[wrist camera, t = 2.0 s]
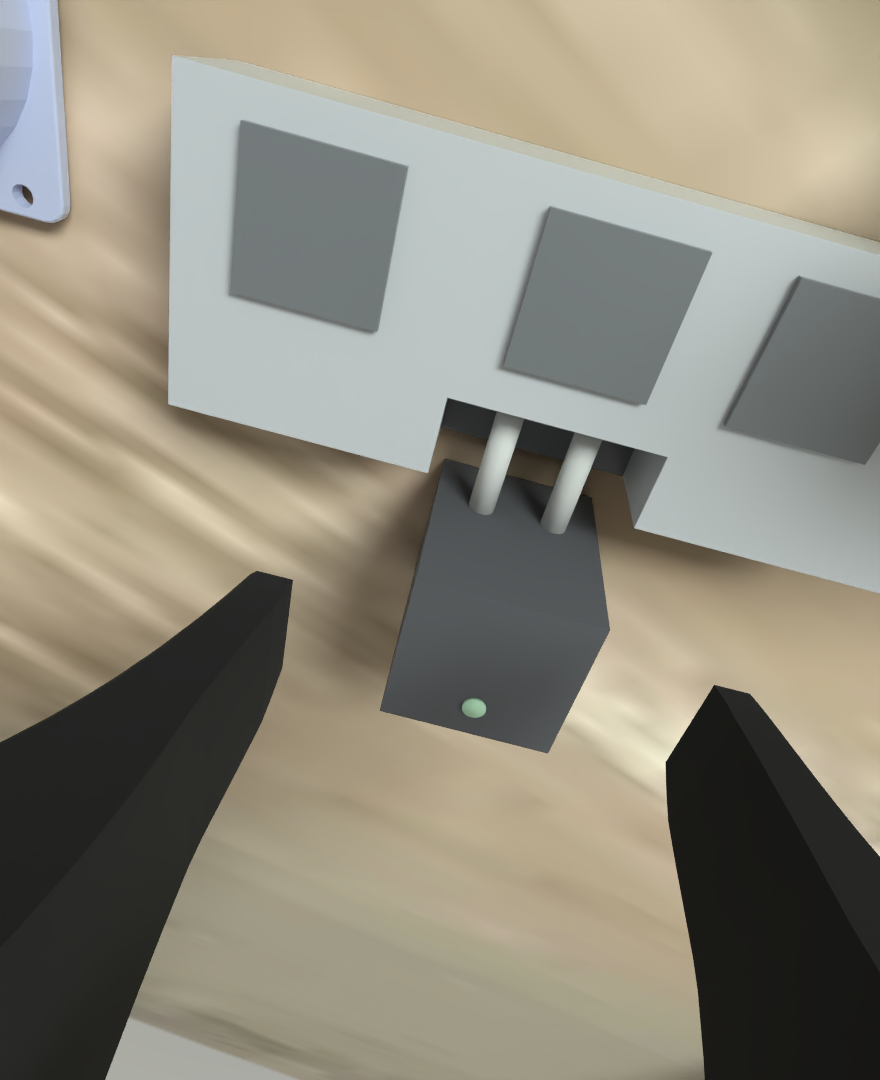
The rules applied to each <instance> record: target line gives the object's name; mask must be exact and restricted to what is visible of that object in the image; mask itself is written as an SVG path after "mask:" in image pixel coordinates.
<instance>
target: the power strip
mask: <svg viewBox="0 0 880 1080" xmlns="http://www.w3.org/2000/svg"><path fill="white" fill-rule="evenodd" d="M168 404H169V405H173V406H177V407H180V408H184V409H188V410H192V411H195V412H199V413H203V414H207V415H210V416H214V417H218V418H222V419H225V420H229V421H233V422H237V423H241V424H244V425H248V426H252V427H256V428H259V429H263V430H267V431H271V432H274V433H278V434H282V435H286V436H289V437H293V438H297V439H301V440H304V441H308V442H312V443H316V444H319V445H323V446H327V447H331V448H334V449H338V450H342V451H346V452H350V453H353V454H357V455H361V456H365V457H368V458H372V459H376V460H380V461H383V462H387V463H391V464H395V465H398V466H402V467H406V468H410V469H413V470H417V471H421V472H425V473H428V471H429V467H430V464H431V460H432V456H433V453H434V449H435V446H436V442H437V439H438V435H439V431H440V428H445V429H448V430H452V431H456V432H459V433H463V434H467V435H471V436H474V437H478V438H482V439H486V440H488V439H489V435H490V432H491V429H492V425H493V422H494V419H495V416H496V412H497V411H499V412H502V413H506V414H510V415H513V416H517V417H521V418H524V421H523V424H522V427H521V430H520V433H519V436H518V439H517V442H516V445H515V448H519V449H523V450H526V451H530V452H534V453H538V454H541V455H545V456H549V457H553V458H556V459H560V460H564V459H565V456H566V454H567V451H568V449H569V446H570V443H571V441H572V438H573V435H574V433H575V432H576V433H580V434H584V435H587V436H591V437H595V438H599V439H602V442H601V445H600V447H599V450H598V452H597V454H596V457H595V459H594V462H593V464H592V467H591V468H594V469H597V470H601V471H605V472H608V473H612V474H616V475H620V476H623V481H624V485H625V490H626V494H627V499H628V503H629V508H630V512H631V517H632V521H633V526H634V528H635V529H639V530H643V531H646V532H650V533H654V534H658V535H662V536H665V537H669V538H673V539H677V540H680V541H684V542H688V543H692V544H695V545H699V546H703V547H707V548H710V549H714V550H718V551H722V552H725V553H729V554H733V555H737V556H740V557H744V558H748V559H752V560H755V561H759V562H763V563H767V564H771V565H774V566H778V567H782V568H786V569H789V570H793V571H797V572H801V573H804V574H808V575H812V576H816V577H819V578H823V579H827V580H831V581H834V582H838V583H842V584H846V585H849V586H853V587H857V588H861V589H864V590H868V591H872V592H876V593H880V242H877V241H874V240H870V239H867V238H863V237H860V236H856V235H852V234H849V233H845V232H842V231H838V230H835V229H831V228H828V227H824V226H821V225H817V224H814V223H810V222H807V221H803V220H800V219H796V218H793V217H789V216H786V215H782V214H778V213H775V212H771V211H768V210H764V209H761V208H757V207H754V206H750V205H747V204H743V203H740V202H736V201H733V200H729V199H726V198H722V197H719V196H715V195H712V194H708V193H704V192H701V191H697V190H694V189H690V188H687V187H683V186H680V185H676V184H673V183H669V182H666V181H662V180H659V179H655V178H652V177H648V176H645V175H641V174H637V173H634V172H630V171H627V170H623V169H620V168H616V167H613V166H609V165H606V164H602V163H599V162H595V161H592V160H588V159H585V158H581V157H578V156H574V155H571V154H567V153H563V152H560V151H556V150H553V149H549V148H546V147H542V146H539V145H535V144H532V143H528V142H525V141H521V140H518V139H514V138H511V137H507V136H504V135H500V134H497V133H493V132H489V131H486V130H482V129H479V128H475V127H472V126H468V125H465V124H461V123H458V122H454V121H451V120H447V119H444V118H440V117H437V116H433V115H430V114H426V113H423V112H419V111H415V110H412V109H408V108H405V107H401V106H398V105H394V104H391V103H387V102H384V101H380V100H377V99H373V98H370V97H366V96H363V95H359V94H356V93H352V92H348V91H345V90H341V89H338V88H334V87H331V86H327V85H324V84H320V83H317V82H313V81H310V80H306V79H303V78H299V77H296V76H292V75H289V74H285V73H282V72H278V71H274V70H271V69H267V68H264V67H260V66H257V65H253V64H250V63H246V62H243V61H237V60H225V59H213V58H202V57H190V56H178V55H172V96H171V186H170V277H169V368H168Z"/></svg>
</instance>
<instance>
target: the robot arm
mask: <svg viewBox="0 0 880 1080" xmlns="http://www.w3.org/2000/svg"><path fill="white" fill-rule="evenodd" d="M23 185H24V186H26V187H27V188H28V189H29V190H30V191H31V193H32V196H33V204H30V203H28V202H27V200H26V199H25V198H24V196H23V193H22V187H23ZM0 210H2V211H5V212H9V213H13V214H16V215H20V216H24V217H27V218H31V219H35V220H38V221H42V222H46V223H55V222H58V221H61V220H63V219H65V218H66V217H67V216H68V214H69V213H70V189H69V174H68V158H67V142H66V127H65V111H64V96H63V80H62V64H61V49H60V33H59V18H58V2H57V0H0ZM292 583H293V580H291V579H287V578H283V577H279V576H275V575H271V574H267V573H263V572H259V571H256V572H254V573H252V574H250V575H249V576H248V577H247V578H246V579H244V580H243V581H242V582H241V583H240V584H239V585H238V586H236V587H235V588H234V589H233V590H232V591H231V592H229V593H228V594H227V595H226V596H225V597H224V598H222V599H221V600H220V601H219V602H217V603H216V604H215V605H214V606H213V607H211V608H210V609H209V610H208V611H206V612H205V613H204V614H203V615H201V616H200V617H199V618H198V619H196V620H195V621H194V622H192V623H191V624H190V625H188V626H187V627H186V628H185V629H183V630H182V631H181V632H179V633H178V634H177V635H175V636H174V637H173V638H171V639H170V640H169V641H167V642H166V643H165V644H163V645H162V646H161V647H159V648H158V649H156V650H155V651H154V652H152V653H151V654H149V655H148V656H146V657H145V658H143V659H142V660H140V661H139V662H137V663H136V664H134V665H133V666H131V667H130V668H129V669H127V670H126V671H124V672H123V673H121V674H120V675H118V676H117V677H115V678H114V679H112V680H111V681H109V682H107V683H106V684H104V685H103V686H101V687H99V688H98V689H96V690H95V691H93V692H91V693H90V694H88V695H86V696H85V697H83V698H81V699H80V700H78V701H76V702H75V703H73V704H71V705H69V706H68V707H66V708H64V709H62V710H61V711H59V712H57V713H55V714H54V715H52V716H50V717H48V718H46V719H45V720H43V721H41V722H39V723H37V724H35V725H33V726H31V727H29V728H27V729H25V730H23V731H21V732H20V733H18V734H16V735H14V736H12V737H10V738H8V739H6V740H4V741H2V742H0V1080H105V1079H106V1076H107V1073H108V1070H109V1068H110V1065H111V1062H112V1060H113V1057H114V1054H115V1052H116V1049H117V1047H118V1044H119V1041H120V1039H121V1036H122V1033H123V1031H124V1028H125V1026H126V1023H127V1020H128V1018H129V1015H130V1012H131V1010H132V1007H133V1004H134V1002H135V999H136V997H137V994H138V991H139V989H140V986H141V984H142V981H143V979H144V976H145V974H146V971H147V969H148V966H149V963H150V961H151V958H152V956H153V953H154V951H155V948H156V946H157V943H158V941H159V938H160V935H161V933H162V930H163V928H164V925H165V923H166V920H167V918H168V915H169V913H170V911H171V908H172V906H173V903H174V901H175V898H176V896H177V893H178V891H179V888H180V886H181V883H182V881H183V879H184V876H185V874H186V871H187V869H188V866H189V864H190V862H191V860H192V858H193V856H194V854H195V851H196V849H197V847H198V845H199V843H200V841H201V839H202V837H203V835H204V833H205V831H206V829H207V827H208V825H209V823H210V821H211V819H212V817H213V816H214V814H215V812H216V810H217V808H218V806H219V804H220V802H221V800H222V798H223V796H224V794H225V792H226V790H227V789H228V787H229V785H230V783H231V781H232V779H233V777H234V775H235V773H236V771H237V769H238V767H239V765H240V763H241V761H242V760H243V758H244V756H245V754H246V752H247V750H248V748H249V746H250V744H251V742H252V740H253V738H254V736H255V734H256V732H257V730H258V728H259V726H260V724H261V722H262V720H263V717H264V715H265V712H266V710H267V707H268V704H269V702H270V699H271V697H272V694H273V691H274V688H275V686H276V683H277V680H278V678H279V675H280V672H281V670H282V665H283V657H284V649H285V640H286V632H287V624H288V616H289V608H290V599H291V591H292ZM666 789H667V807H668V822H669V828H670V834H671V840H672V846H673V851H674V857H675V863H676V868H677V874H678V879H679V884H680V890H681V895H682V901H683V906H684V911H685V917H686V922H687V927H688V933H689V938H690V944H691V949H692V954H693V960H694V967H695V974H696V981H697V988H698V998H699V1009H700V1021H701V1033H702V1044H703V1056H704V1072H705V1080H880V856H879V855H878V854H877V853H876V852H875V851H874V849H873V848H872V847H871V846H870V845H869V844H868V842H867V841H866V840H865V839H864V838H863V837H862V835H861V834H860V833H859V832H858V830H857V829H856V828H855V827H854V826H853V824H852V823H851V822H850V821H849V820H848V818H847V817H846V816H845V815H844V813H843V812H842V811H841V810H840V808H839V807H838V806H837V805H836V803H835V802H834V801H833V800H832V798H831V797H830V796H829V795H828V793H827V792H826V791H825V789H824V788H823V787H822V786H821V784H820V783H819V782H818V780H817V779H816V778H815V777H814V775H813V774H812V773H811V771H810V770H809V769H808V768H807V766H806V765H805V764H804V762H803V761H802V760H801V758H800V757H799V756H798V754H797V753H796V752H795V751H794V749H793V748H792V747H791V745H790V744H789V743H788V741H787V740H786V739H785V737H784V736H783V735H782V733H781V732H780V731H779V730H778V728H777V727H776V726H775V724H774V723H773V722H772V721H771V719H770V718H769V717H768V715H767V714H766V713H765V712H764V710H763V709H762V708H761V707H760V705H759V704H758V703H757V702H756V701H755V699H754V698H753V697H752V696H751V695H750V694H748V693H744V692H740V691H736V690H732V689H728V688H724V687H720V686H716V685H714V686H713V688H712V690H711V691H710V693H709V694H708V696H707V698H706V699H705V701H704V702H703V704H702V706H701V707H700V709H699V710H698V712H697V713H696V715H695V717H694V718H693V720H692V721H691V723H690V725H689V726H688V728H687V729H686V731H685V733H684V734H683V736H682V737H681V739H680V741H679V742H678V744H677V745H676V747H675V748H674V750H673V752H672V753H671V755H670V756H669V758H668V760H667V761H666Z"/></svg>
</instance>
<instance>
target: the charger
mask: <svg viewBox="0 0 880 1080" xmlns="http://www.w3.org/2000/svg"><path fill="white" fill-rule="evenodd" d="M523 421H524V418H521V417H517V416H513V415H510V414H506V413H502V412H499V411H497V412H496V416H495V419H494V422H493V425H492V429H491V432H490V435H489V439H488V442H487V445H486V448H485V452H484V455H483V458H482V462H481V465H480V468H478V467H474V466H471V465H467V464H463V463H459V462H456V461H452V460H448V459H445V461H444V465H443V468H442V472H441V476H440V479H439V483H438V487H437V490H436V494H435V498H434V502H433V505H432V509H431V513H430V516H429V520H428V524H427V528H426V531H425V535H424V539H423V542H422V546H421V550H420V554H419V557H418V561H417V565H416V568H415V572H414V576H413V580H412V584H411V588H410V592H409V596H408V600H407V604H406V608H405V612H404V616H403V620H402V624H401V628H400V632H399V636H398V640H397V644H396V648H395V652H394V656H393V660H392V664H391V668H390V672H389V676H388V680H387V684H386V688H385V692H384V696H383V700H382V704H381V708H380V711H383V712H387V713H391V714H395V715H399V716H403V717H406V718H410V719H414V720H418V721H422V722H426V723H430V724H434V725H438V726H442V727H446V728H450V729H454V730H458V731H462V732H466V733H470V734H473V735H477V736H481V737H485V738H489V739H493V740H497V741H501V742H505V743H509V744H513V745H517V746H521V747H525V748H529V749H533V750H537V751H540V752H544V753H548V752H549V750H550V748H551V746H552V744H553V742H554V740H555V738H556V736H557V734H558V732H559V730H560V728H561V726H562V724H563V722H564V720H565V718H566V716H567V715H568V713H569V711H570V709H571V707H572V705H573V703H574V701H575V699H576V697H577V695H578V693H579V691H580V689H581V687H582V685H583V683H584V681H585V679H586V677H587V675H588V673H589V671H590V669H591V667H592V665H593V663H594V661H595V659H596V657H597V655H598V653H599V651H600V649H601V647H602V645H603V643H604V641H605V639H606V637H607V635H608V633H609V631H610V627H609V620H608V613H607V605H606V598H605V591H604V583H603V576H602V569H601V561H600V554H599V547H598V539H597V532H596V525H595V517H594V510H593V502H592V498H590V497H587V496H583V495H580V494H581V491H582V489H583V486H584V484H585V481H586V479H587V476H588V474H589V472H590V469H591V467H592V464H593V462H594V459H595V457H596V454H597V452H598V450H599V447H600V445H601V442H602V439H599V438H595V437H591V436H587V435H584V434H580V433H576V432H575V433H574V435H573V438H572V441H571V443H570V446H569V449H568V451H567V454H566V456H565V459H564V462H563V464H562V467H561V470H560V472H559V475H558V477H557V480H556V483H555V485H554V488H553V487H549V486H546V485H542V484H538V483H534V482H531V481H527V480H523V479H519V478H516V477H512V476H508V475H506V473H507V469H508V466H509V463H510V460H511V457H512V454H513V451H514V448H515V445H516V442H517V439H518V436H519V433H520V430H521V427H522V424H523Z"/></svg>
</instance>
